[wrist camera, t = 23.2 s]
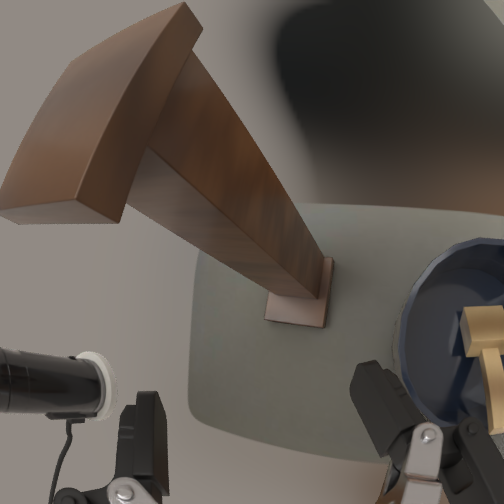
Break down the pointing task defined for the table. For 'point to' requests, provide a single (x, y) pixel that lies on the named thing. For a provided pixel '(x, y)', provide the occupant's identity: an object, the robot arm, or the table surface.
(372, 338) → the table surface
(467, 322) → the t-shaped wooden block
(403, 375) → the pot
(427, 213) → the table surface
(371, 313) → the table surface
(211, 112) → the stand
